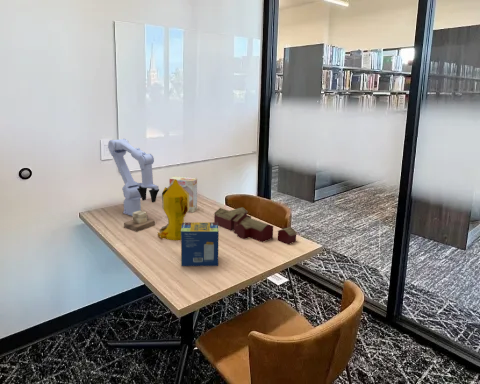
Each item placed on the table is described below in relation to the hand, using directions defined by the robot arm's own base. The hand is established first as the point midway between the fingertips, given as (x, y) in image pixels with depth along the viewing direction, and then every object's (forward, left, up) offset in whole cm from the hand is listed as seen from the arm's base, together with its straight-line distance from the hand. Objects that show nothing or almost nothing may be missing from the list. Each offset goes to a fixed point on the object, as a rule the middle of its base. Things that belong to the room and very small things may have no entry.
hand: (148, 201), depth 200 cm
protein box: (+55, -23, -11) cm, 61 cm away
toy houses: (+56, +19, -11) cm, 60 cm away
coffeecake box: (+3, +24, -11) cm, 27 cm away
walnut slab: (+4, -11, -11) cm, 16 cm away
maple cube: (+4, -11, -8) cm, 14 cm away
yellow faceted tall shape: (+26, -8, -11) cm, 29 cm away
